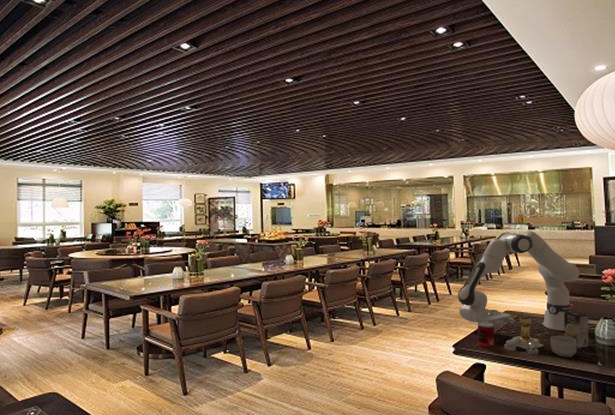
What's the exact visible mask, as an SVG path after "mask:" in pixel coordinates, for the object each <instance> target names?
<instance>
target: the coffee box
mask: <svg viewBox="0 0 615 415" xmlns="http://www.w3.org/2000/svg"><path fill="white" fill-rule="evenodd" d="M563 335H564V336H566V337H569V336H570V337H572V338H574V339H576V347H577V348H587V347H589V315H588V314H586V313H582V312H577V311H574V310H571V311H570V312H564V332H563Z"/></svg>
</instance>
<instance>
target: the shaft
mask: <svg viewBox="0 0 615 415" xmlns="http://www.w3.org/2000/svg"><path fill="white" fill-rule="evenodd" d="M526 344H527V345H528V346H529V347H530V348H526V349H525V350H526V353H527V354H528V355H537V356H538V355H539V350H538V348H536V347H535V345H534V344H533V343H532V342H531V341H530V340H526Z"/></svg>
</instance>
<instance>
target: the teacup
mask: <svg viewBox="0 0 615 415" xmlns="http://www.w3.org/2000/svg"><path fill="white" fill-rule="evenodd" d="M549 339H550V340H549V341H550V348H551V351H552V352H553V353H554V354H555V355H556V356H559V357H561V358H562V357H563V358H572V357H573V356H574V355H576V353H577V349H578V347H576V339H574V338H572V337H570V336H569V337H566V336H563V335H555V336H554V335H553V336H550V337H549Z"/></svg>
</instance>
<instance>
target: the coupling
mask: <svg viewBox="0 0 615 415" xmlns="http://www.w3.org/2000/svg"><path fill="white" fill-rule="evenodd" d="M518 320H519V321H518V322H519V326H520V336H521V337H519V336H518V337H519V338H520V339H521V340H522V341H526V340H530V341H532V339H531V338H532V337H531V329H530V328H531V326H532V318H530V315H528V314H527V315H523V316H521V317H519V318H518Z"/></svg>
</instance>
